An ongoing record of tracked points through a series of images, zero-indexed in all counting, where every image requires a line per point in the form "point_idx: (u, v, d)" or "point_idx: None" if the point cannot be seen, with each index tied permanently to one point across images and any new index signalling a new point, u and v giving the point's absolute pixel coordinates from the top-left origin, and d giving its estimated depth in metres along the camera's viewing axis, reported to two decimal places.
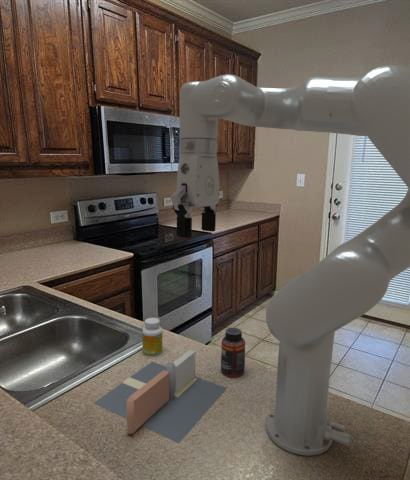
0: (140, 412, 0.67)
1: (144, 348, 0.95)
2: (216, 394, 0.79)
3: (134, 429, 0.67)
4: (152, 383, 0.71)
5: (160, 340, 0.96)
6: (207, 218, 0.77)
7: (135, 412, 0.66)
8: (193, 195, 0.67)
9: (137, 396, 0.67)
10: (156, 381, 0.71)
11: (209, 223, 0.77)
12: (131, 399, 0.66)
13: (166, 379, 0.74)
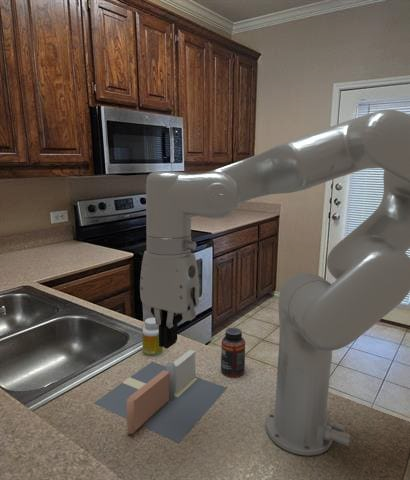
0: (140, 412, 0.67)
1: (144, 348, 0.95)
2: (216, 394, 0.79)
3: (134, 429, 0.67)
4: (152, 383, 0.71)
5: None
6: None
7: (135, 412, 0.66)
8: (198, 296, 0.61)
9: (137, 396, 0.67)
10: (156, 381, 0.71)
11: None
12: (131, 399, 0.66)
13: (166, 379, 0.74)
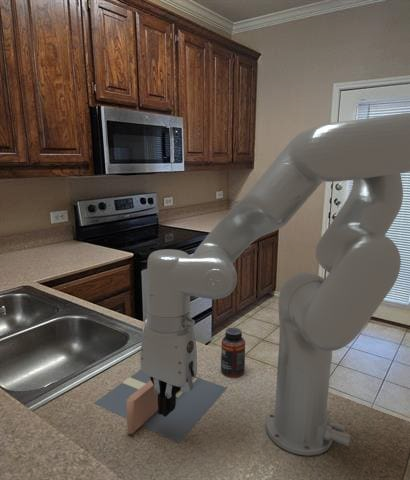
0: (140, 412, 0.67)
1: None
2: (216, 394, 0.79)
3: (134, 429, 0.67)
4: (152, 383, 0.71)
5: None
6: None
7: (135, 412, 0.66)
8: (196, 367, 0.64)
9: (137, 396, 0.67)
10: None
11: None
12: (131, 399, 0.66)
13: None
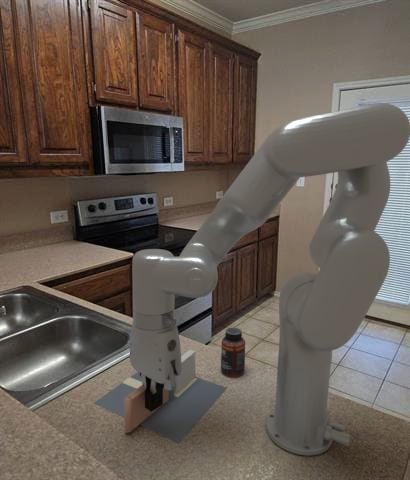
0: (137, 411, 0.68)
1: None
2: (216, 394, 0.79)
3: (132, 428, 0.67)
4: None
5: None
6: None
7: (133, 411, 0.67)
8: (180, 366, 0.65)
9: (135, 395, 0.67)
10: None
11: None
12: (128, 398, 0.66)
13: None
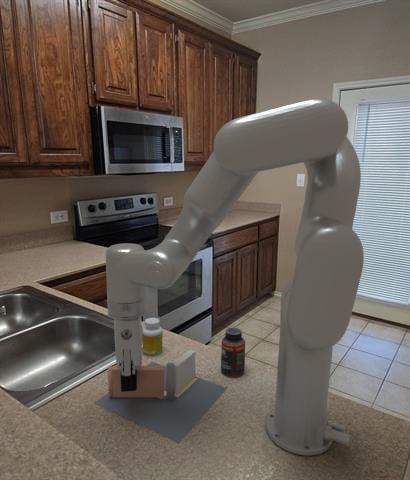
0: (120, 384, 0.76)
1: (144, 348, 0.95)
2: (216, 394, 0.79)
3: (112, 395, 0.77)
4: (140, 368, 0.76)
5: (160, 340, 0.96)
6: None
7: (113, 381, 0.76)
8: (138, 358, 0.68)
9: (117, 368, 0.76)
10: (144, 369, 0.76)
11: None
12: (112, 367, 0.76)
13: (160, 375, 0.76)
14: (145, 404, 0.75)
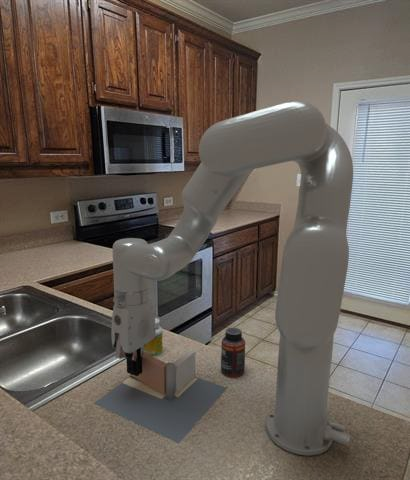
0: None
1: (144, 348, 0.95)
2: (216, 394, 0.79)
3: (131, 374, 0.85)
4: (149, 358, 0.80)
5: (160, 340, 0.96)
6: None
7: None
8: (125, 345, 0.73)
9: None
10: (151, 360, 0.79)
11: None
12: None
13: (161, 371, 0.78)
14: (145, 404, 0.75)
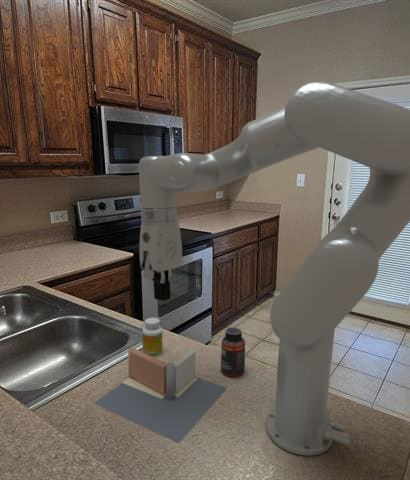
0: (135, 367, 0.83)
1: (144, 348, 0.95)
2: (216, 394, 0.79)
3: (130, 374, 0.84)
4: (149, 358, 0.80)
5: (160, 340, 0.96)
6: None
7: (131, 362, 0.84)
8: (155, 262, 0.71)
9: (133, 352, 0.83)
10: (150, 360, 0.79)
11: None
12: (131, 349, 0.84)
13: (161, 371, 0.77)
14: (145, 404, 0.75)
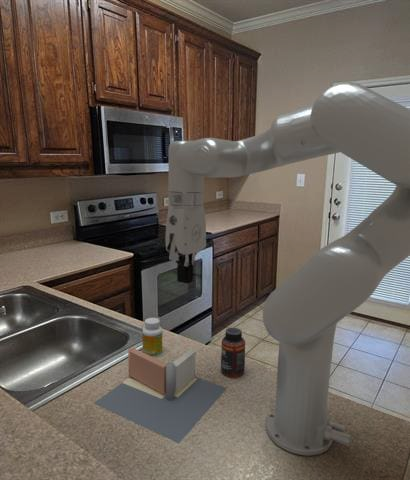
0: (135, 367, 0.83)
1: (144, 348, 0.95)
2: (216, 394, 0.79)
3: (130, 374, 0.84)
4: (149, 358, 0.80)
5: (160, 340, 0.96)
6: None
7: (131, 362, 0.84)
8: (180, 245, 0.73)
9: (133, 352, 0.83)
10: (150, 360, 0.79)
11: None
12: (131, 349, 0.84)
13: (161, 371, 0.77)
14: (145, 404, 0.75)
